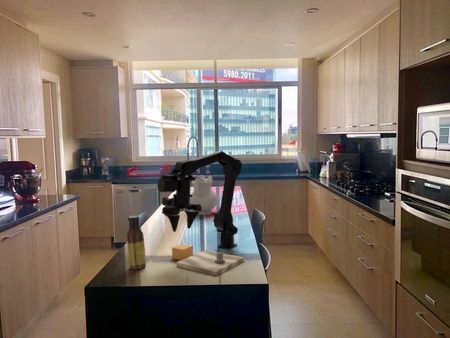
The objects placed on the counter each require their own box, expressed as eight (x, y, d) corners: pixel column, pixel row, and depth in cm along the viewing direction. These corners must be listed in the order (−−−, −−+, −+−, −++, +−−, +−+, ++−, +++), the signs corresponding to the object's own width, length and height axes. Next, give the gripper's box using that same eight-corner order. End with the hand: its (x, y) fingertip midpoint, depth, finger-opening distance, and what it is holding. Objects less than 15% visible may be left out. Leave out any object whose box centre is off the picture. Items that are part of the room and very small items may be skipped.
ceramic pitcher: (216, 218, 228) (218, 178, 226) (185, 216, 228) (186, 176, 226) (217, 211, 250) (219, 175, 248) (189, 210, 250) (190, 173, 248)
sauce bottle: (147, 264, 143) (145, 214, 142) (144, 270, 137) (142, 217, 135) (130, 265, 143) (128, 214, 141) (126, 270, 137) (124, 218, 135)
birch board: (205, 253, 155) (205, 241, 155) (243, 261, 144) (243, 248, 144) (176, 266, 140) (176, 253, 140) (216, 275, 129) (215, 262, 129)
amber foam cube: (182, 254, 155) (181, 243, 154) (193, 256, 151) (192, 245, 151) (172, 258, 150) (171, 247, 150) (183, 260, 146) (182, 249, 146)
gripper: (182, 189, 161) (180, 224, 161) (152, 191, 145) (151, 230, 146) (202, 191, 155) (201, 227, 155) (174, 193, 139) (172, 234, 140)
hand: (181, 229), depth 149 cm, fingers open, 9 cm apart
